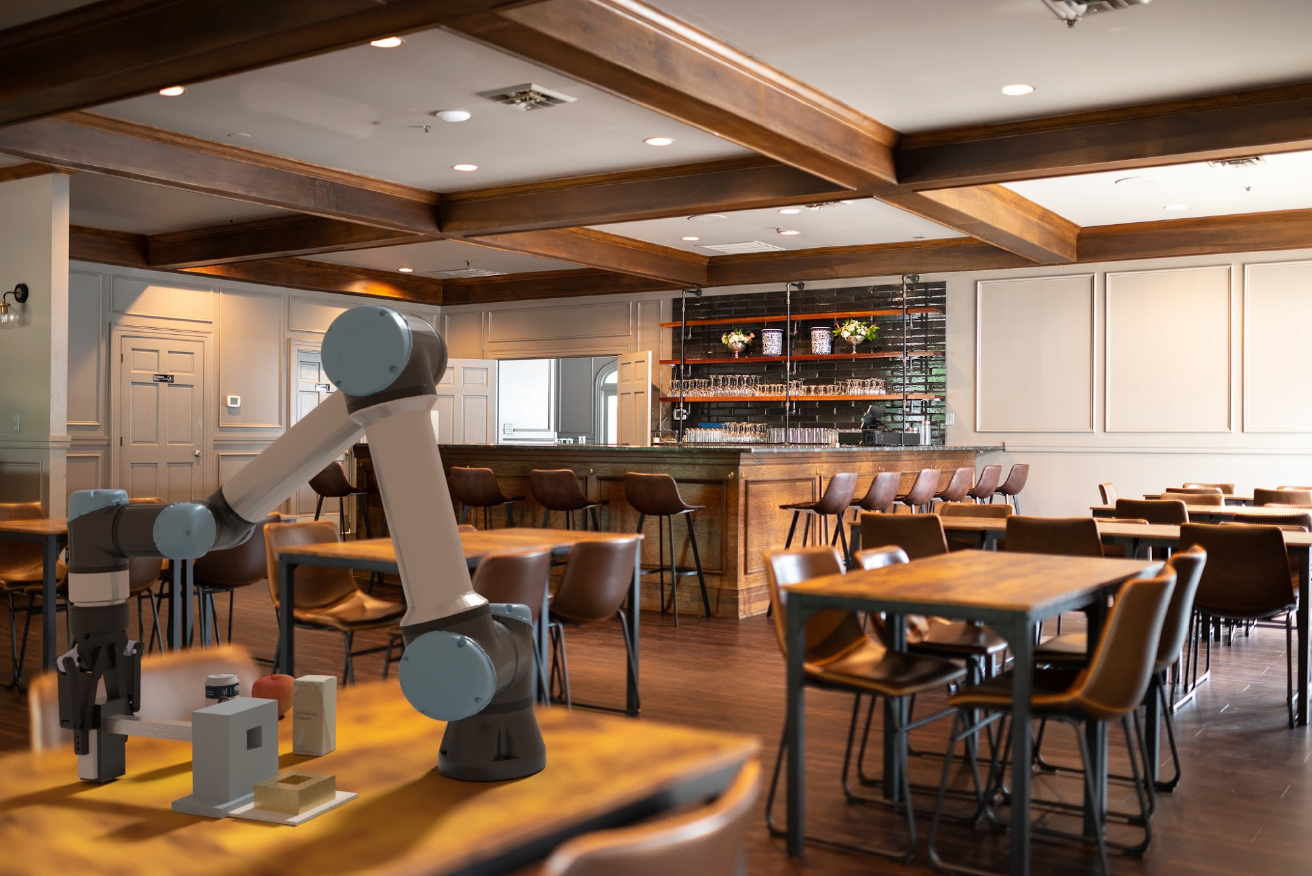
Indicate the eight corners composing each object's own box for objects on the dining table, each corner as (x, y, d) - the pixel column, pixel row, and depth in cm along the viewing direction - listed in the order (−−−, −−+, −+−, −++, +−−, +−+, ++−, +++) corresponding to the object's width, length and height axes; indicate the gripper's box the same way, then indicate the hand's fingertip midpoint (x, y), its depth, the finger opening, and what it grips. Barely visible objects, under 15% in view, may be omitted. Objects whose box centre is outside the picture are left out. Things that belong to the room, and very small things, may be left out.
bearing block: (297, 786, 155) (296, 696, 155) (222, 818, 142) (220, 720, 142) (249, 780, 158) (248, 692, 158) (171, 811, 145) (170, 715, 145)
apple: (302, 710, 199) (301, 664, 199) (291, 721, 192) (291, 672, 192) (258, 712, 199) (258, 665, 199) (246, 722, 191) (245, 673, 191)
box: (291, 754, 171) (290, 679, 171) (306, 747, 175) (306, 673, 175) (323, 756, 170) (322, 681, 170) (338, 749, 174) (337, 675, 174)
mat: (358, 796, 151) (358, 793, 151) (296, 825, 139) (296, 822, 139) (289, 788, 155) (289, 785, 155) (224, 815, 144) (224, 812, 144)
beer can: (228, 762, 167) (227, 679, 167) (198, 761, 168) (197, 678, 168) (246, 753, 172) (245, 672, 172) (217, 752, 173) (216, 671, 173)
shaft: (240, 789, 153) (239, 709, 153) (218, 798, 149) (217, 716, 149) (103, 771, 162) (102, 696, 162) (79, 779, 158) (78, 702, 158)
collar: (292, 792, 151) (335, 798, 148) (253, 808, 145) (298, 815, 142) (291, 769, 151) (335, 775, 148) (253, 784, 145) (298, 790, 142)
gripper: (128, 593, 169) (130, 754, 168) (24, 609, 153) (27, 787, 153) (168, 594, 166) (170, 758, 166) (66, 612, 150) (69, 793, 150)
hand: (102, 772), depth 159 cm, fingers closed on shaft, 4 cm apart
